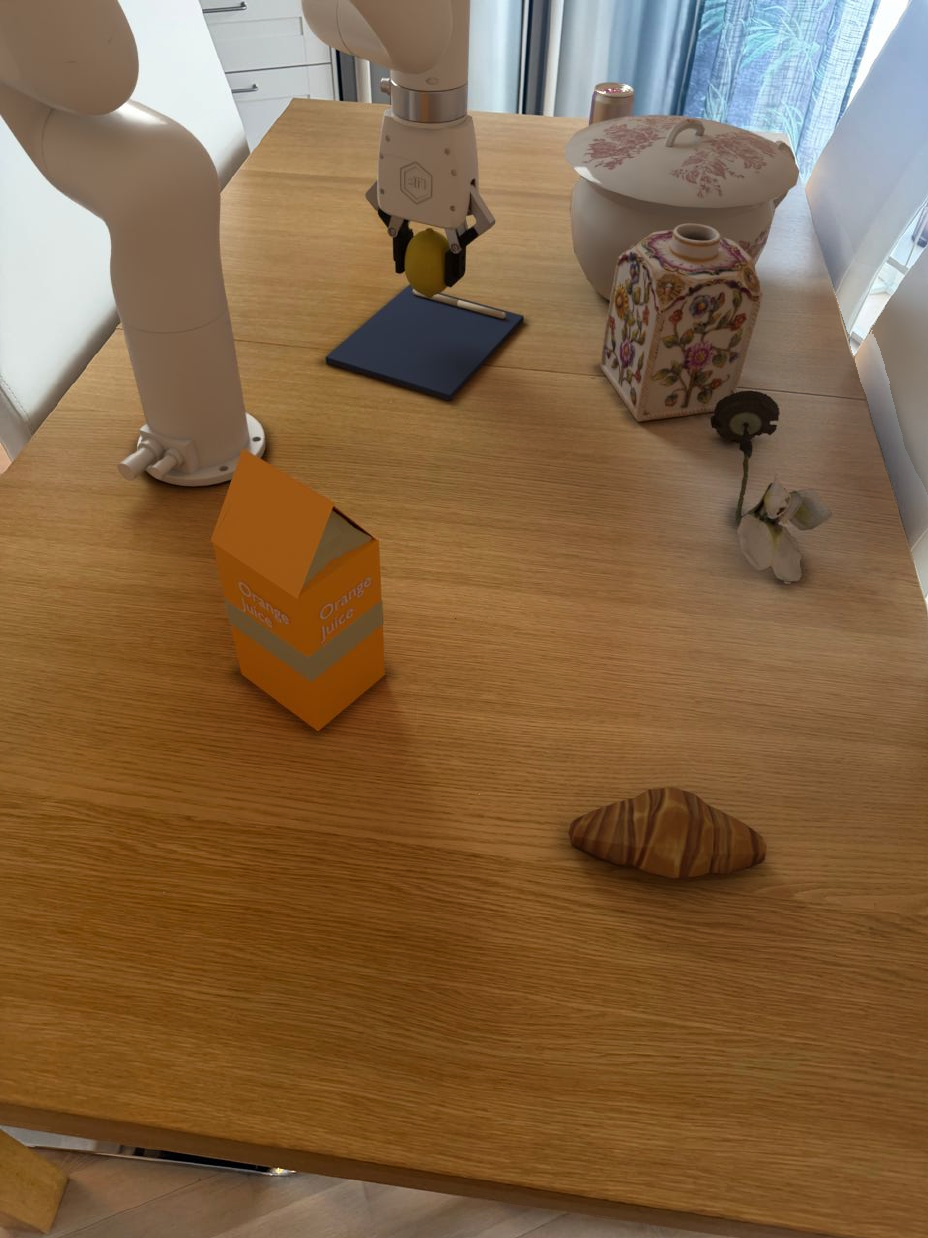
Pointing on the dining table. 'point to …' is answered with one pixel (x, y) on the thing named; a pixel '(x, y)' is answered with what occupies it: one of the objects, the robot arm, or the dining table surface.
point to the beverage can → (611, 102)
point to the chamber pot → (671, 185)
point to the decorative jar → (679, 322)
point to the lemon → (426, 262)
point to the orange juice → (299, 592)
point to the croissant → (668, 835)
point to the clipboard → (426, 342)
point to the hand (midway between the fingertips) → (429, 273)
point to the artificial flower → (767, 490)
